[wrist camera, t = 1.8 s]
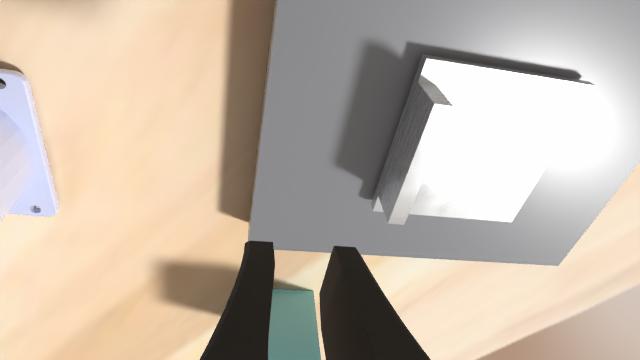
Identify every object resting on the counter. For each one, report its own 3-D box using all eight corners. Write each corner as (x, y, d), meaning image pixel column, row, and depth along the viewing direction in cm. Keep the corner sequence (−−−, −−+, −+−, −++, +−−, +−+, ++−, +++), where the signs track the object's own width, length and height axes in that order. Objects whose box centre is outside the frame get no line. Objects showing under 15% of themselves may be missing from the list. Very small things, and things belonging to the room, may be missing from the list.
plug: (250, 323, 30) (246, 425, 24) (256, 288, 27) (253, 392, 22) (303, 324, 30) (311, 423, 25) (313, 290, 28) (324, 391, 23)
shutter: (370, 204, 21) (381, 239, 19) (422, 54, 16) (444, 78, 14) (507, 216, 22) (530, 249, 20) (589, 81, 18) (630, 106, 16)
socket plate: (248, 223, 24) (247, 248, 22) (287, -101, 15) (289, -99, 13) (541, 243, 28) (558, 265, 26) (717, -2, 18) (759, 9, 17)
